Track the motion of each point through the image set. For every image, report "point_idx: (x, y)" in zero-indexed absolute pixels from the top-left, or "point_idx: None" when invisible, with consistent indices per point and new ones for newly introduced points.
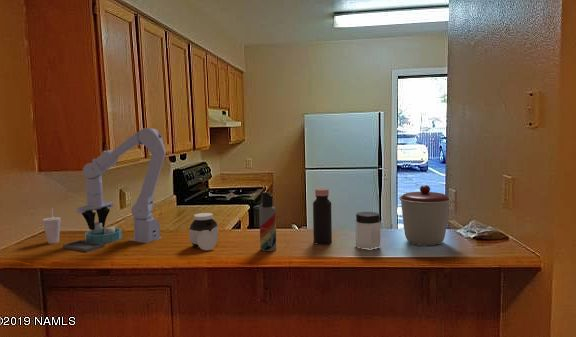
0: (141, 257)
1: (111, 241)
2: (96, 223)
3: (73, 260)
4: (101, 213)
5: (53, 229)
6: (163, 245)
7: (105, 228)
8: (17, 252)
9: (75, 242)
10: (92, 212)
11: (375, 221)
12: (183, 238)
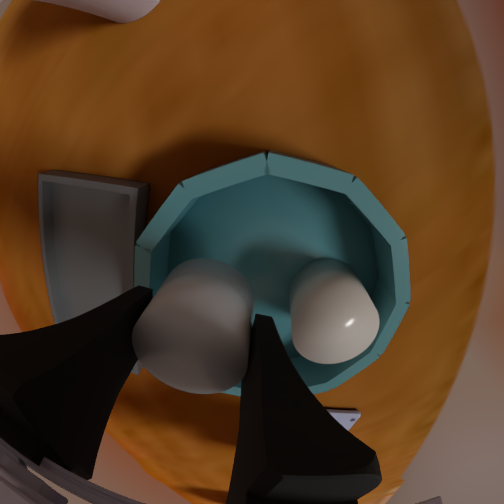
0: (136, 455)
1: None
2: (175, 362)
3: (22, 331)
4: (238, 468)
5: (47, 1)
6: None
7: (310, 316)
8: (7, 35)
9: (99, 188)
10: (63, 465)
11: None
12: None
